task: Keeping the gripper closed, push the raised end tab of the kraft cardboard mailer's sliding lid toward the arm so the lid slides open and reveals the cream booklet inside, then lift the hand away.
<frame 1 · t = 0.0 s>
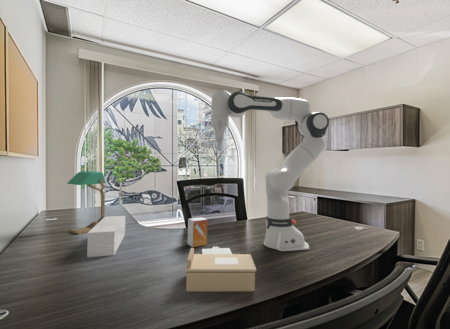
hand: (219, 150, 121), 48 cm above the table, fingers open, 8 cm apart
mounting plate: (217, 258, 105), on the table
lid: (220, 258, 83), point 8 cm above the table, slide at 0.0 cm
small box: (197, 244, 121), on the table
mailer: (220, 281, 83), on the table
stack of papers: (108, 245, 119), on the table
banker's lamp: (90, 230, 143), on the table
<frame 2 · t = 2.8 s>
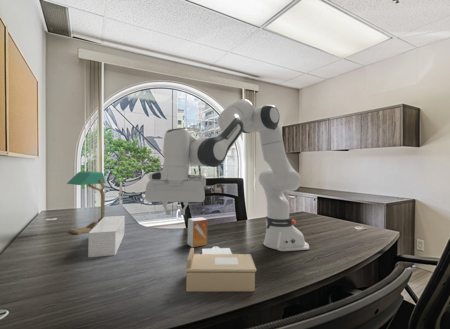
hand: (175, 214, 83), 23 cm above the table, fingers open, 3 cm apart
nothing on the table moved.
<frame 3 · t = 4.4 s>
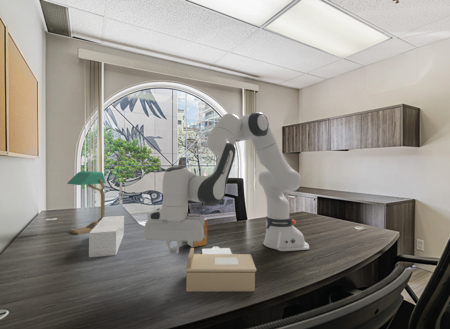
hand: (173, 252, 82), 10 cm above the table, fingers closed
nothing on the table moved.
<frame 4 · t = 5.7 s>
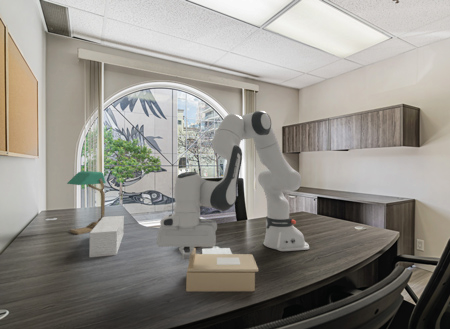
hand: (186, 258, 83), 8 cm above the table, fingers closed
lid: (222, 258, 83), point 8 cm above the table, slide at 0.7 cm, touching gripper
everything else where it was.
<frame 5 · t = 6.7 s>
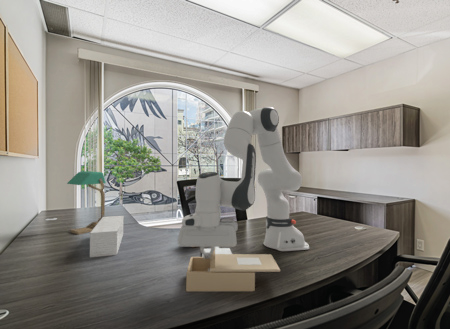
hand: (207, 258, 83), 8 cm above the table, fingers closed
lid: (243, 258, 83), point 8 cm above the table, slide at 7.8 cm, touching gripper
everything else where it was.
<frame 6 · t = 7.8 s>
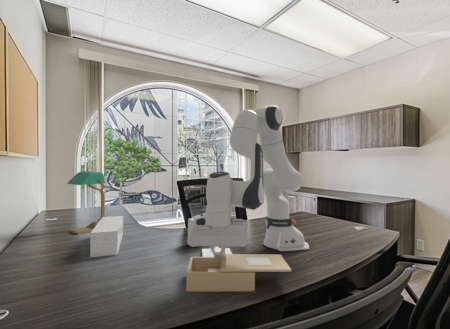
hand: (217, 258, 83), 8 cm above the table, fingers closed
lid: (253, 258, 84), point 8 cm above the table, slide at 11.4 cm, touching gripper
everything else where it was.
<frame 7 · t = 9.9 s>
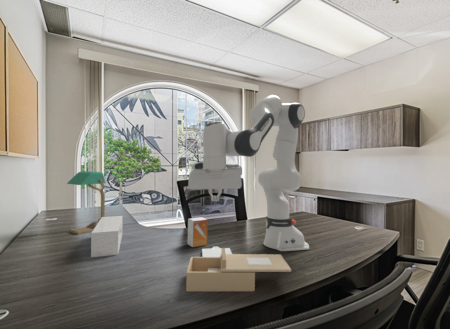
hand: (215, 200, 91), 27 cm above the table, fingers closed
lid: (253, 258, 84), point 8 cm above the table, slide at 11.4 cm
everything else where it was.
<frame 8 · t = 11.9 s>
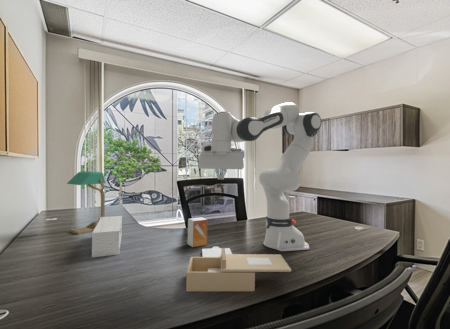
hand: (220, 179, 106), 34 cm above the table, fingers closed
at the end: lid slide at 11.4 cm; lid touching nothing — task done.
